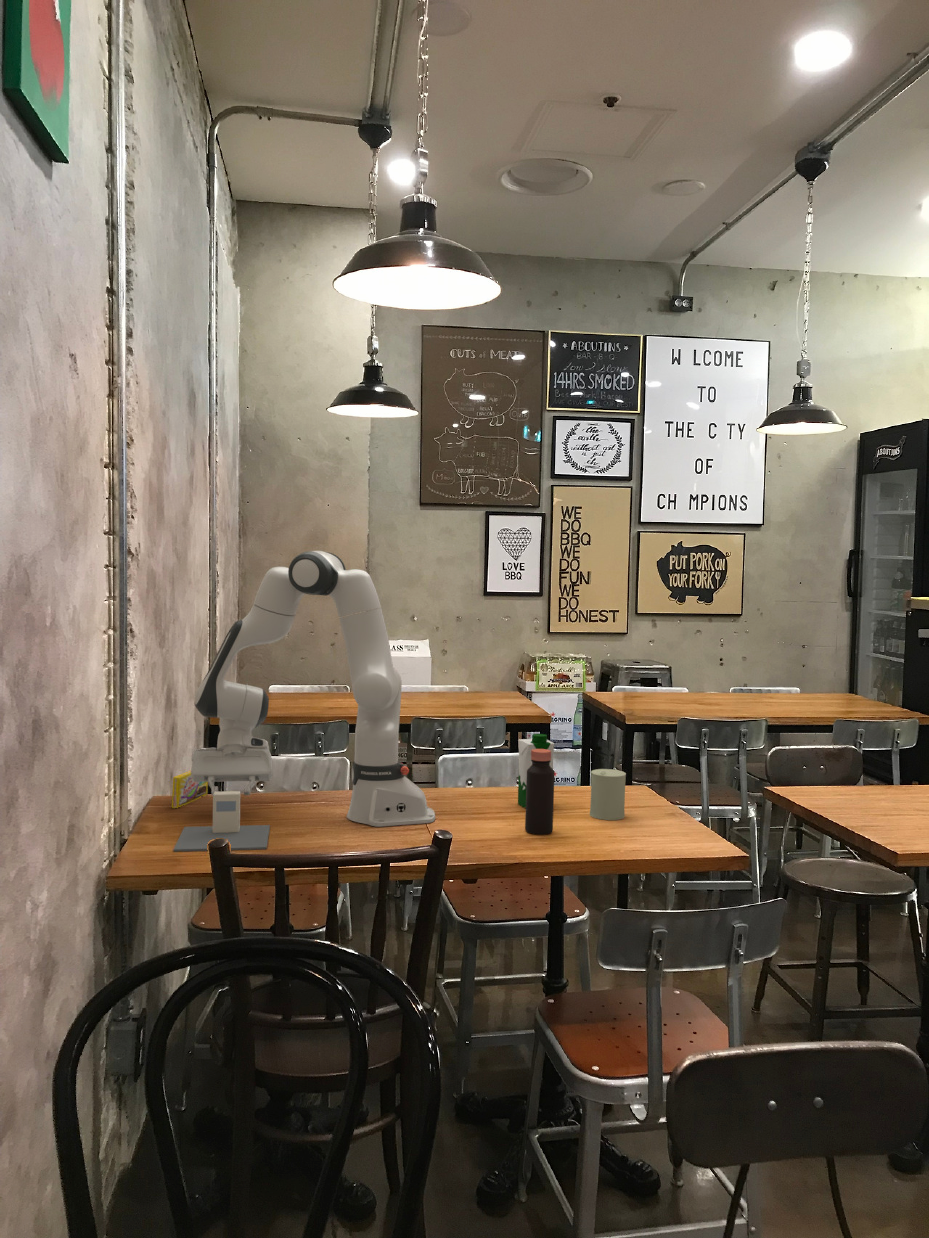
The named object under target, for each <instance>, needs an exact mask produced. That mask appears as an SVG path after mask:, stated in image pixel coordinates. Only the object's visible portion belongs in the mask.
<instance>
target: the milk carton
mask: <svg viewBox="0 0 929 1238" xmlns="http://www.w3.org/2000/svg"><path fill="white" fill-rule="evenodd" d="M531 735H532V736H531V738H523V739H522V738H521V739H520V738H519V739H518V740H517V741H518V778H517V779H518V781H517V782H518V783H517V788H518V789H517V805H519V806H521V807H522V808H523V809H525V810H526V781H527V770H528V768H529V767H530V766H531V765H532V761H531V760H532V759H531V750H533V749H547V750H550V751H551V760H550V761H551V762H550V767H551V768H552V769H553V770H554V767H553V766H554V765H553V764H554V753H555V752H554V751H555V742H553V741H551V740H549V739H548V735H547V734H544V733H533V734H531Z"/></svg>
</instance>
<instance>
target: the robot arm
mask: <svg viewBox="0 0 929 1238" xmlns="http://www.w3.org/2000/svg"><path fill="white" fill-rule="evenodd" d="M305 595H311V596H326V597H327V596H329V597H331V598H332V600H333V602H334V603H335V608H336V610H337V616H338V621H339V625H340V628H341V633H342V636H343V641H344V645H345V650H346V657H347V658H346V659H347V665H348V671H349V678H350V679H349V680H350V683H351V684H350V685H351V689H352V695H353V699H354V701H355V702H356V703H357V714H356V723H355V732H354V761H353V762H352V767H351V782H352V792H351V798H350V799H351V800H350V803H349V804H350V805H349V808H348V811H347V814H346V818H347V819H348V820H349V821H352V822H355V823H359V824H365V825H368V826H372V827H392V826H404V825H405V826H406V825H407V826H408V825H417V824H418V825H419V824H429V823H430V824H431V823H433V822H434V821H435V820H436V813H435V811H434V809H433V808H431V807H429V806H428V804H427V803H428V802H427V798H426V795H425V793H424V791H423V790H422V789H421V787H419V786H418V785H416V784H415V783H414V782H413V781H411V779H409V778H408V777H406V776H407V775H408V774H409V773H410V769H409V768H408V766H406V765H405V764H404V763H403V762H400V761H399V732H400V718H401V717H400V716H401V702H402V686H403V685H402V684H403V683H402V678H401V675H400V673H399V671H398V670H397V669H396V668H395V667H394V666H393V665H394V664H393V659H392V654H391V648H390V647H391V646H390V639H389V634H388V629H387V625H386V622H385V618H384V614H383V610H382V605H381V602H380V599H379V595H378V592H377V589H376V587H375V585H374V582H373V580H372V577H371V575H370V574H369V573H368V572H367V571H365V570H363V569H358V568H354V569H346V565H345V563H344V562H343V560H342V559H341V558H340V557H339V556H337V555H336V554H334V553H332V552H326V551H324V550H323V551H322V550H311V551H310V550H308V551H304V552H301V553H299V554H297V555H296V556H295V557H293V559H292V560H291V562H290V563H289V566H288V567H287V566H275V567H274V566H273V567H271V568H270V569H268V570H267V572H266V573H265V575H264V576H263V578H262V581H261V583H260V585H259V587H258V590H257V592H256V594H255V598H254V601H253V605H252V606H251V609H250V611H249V612H248V613H247V614H246V615H245V617H244V618H242V619H240V620H236V621H235V622H234V623H233V624H232V625H231V627H230V629H229V630H228V632H227V634H226V635H225V637H224V640H223V641H222V643H221V646H220V647H219V648H218V649H219V650H218V651H217V653H216V656H214V658H213V659H214V660H213V661H212V664H211V666H210V667H209V668H208V671H207V673H206V675H205V677H204V678H203V680H202V682H201V683H200V684H199V686H198V688H197V689H196V692H195V696H194V706H195V708H196V709H197V711H198V712H199V714H200V715H201V716H203V717H204V718H214V719H215V718H216V719H217V718H218V719H219V723H218V724H219V725H218V727H219V733H218V736H217V742H216V743H217V744H216V747H199V748H198V749H195V750H194V751H193V752H192V755H191V761H192V765H191V769H190V770H191V778H192V779H193V781H195V782H208V786H209V788H210V789H211V796H212V797H213V794H214V792H219V786H215V782H216V783H217V782H219V783H220V782H221V783H222V782H249V783H248V785H243V786H244V787H243V796H251V790H252V788H253V787H254V786H255V784H256V782H269V781H271V780H272V779H273V776H274V770H273V769H274V768H273V758H272V754H271V751H270V746H269V741H268V740H266V739H264V738H258V737H255V736H253V734H252V731H253V729H256V728H257V727H259V726H260V725H262V723H264V722H265V720H266V719H267V716H268V713H269V704H270V703H269V702H270V699H269V698H270V697H269V695H268V694H267V692H266V690H265V689H263V688H261V687H257V686H255V685H254V686H253V685H249V684H242V683H238V682H235V681H234V682H233V681H229V680H226V679H225V678H226V676H227V674H228V671H229V670H230V668H231V666H232V664H233V661H234V660H235V657H236V655H237V654H239V652H240V651H241V650H243V649H246V648H248V647H252V646H261V645H269V644H273V643H276V642H278V641H279V642H280V640H282V639H284V638H285V637H286V636H287V635H289V633H290V631H291V629H292V627H293V624H294V621H295V618H296V614H297V611H298V608H299V605H300V602H301V600H302V598H303V597H304V596H305Z"/></svg>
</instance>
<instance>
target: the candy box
mask: <svg viewBox="0 0 929 1238" xmlns="http://www.w3.org/2000/svg"><path fill="white" fill-rule="evenodd" d="M208 786H209V785H208V782H195V781H193V779H192V778H191V769H190V770H188V771H186V772H183V773H179V774H178V775H175V776H173V777H172V792H171V807H172V808H171V809H175V808H177V809H179V808H178V807H180V808H182V807H184V806H186V805H188V804H190V803H192V802H194V801H197V800H199V799H202V797H200V796H203V797H205V796H207V795H208ZM183 805H184V806H183ZM181 806H182V807H181Z"/></svg>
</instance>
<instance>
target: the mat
mask: <svg viewBox="0 0 929 1238" xmlns="http://www.w3.org/2000/svg"><path fill="white" fill-rule="evenodd" d="M270 830H271V824H267V825H266V824H264V825H263V824H261V825H260V824H256V825H254V824H253V825H252V824H251V825H249V824H248V825H240V830H239V832H221V833H213V825H212V826H211V825H206V826H205V825H203V826H202V825H201V826H184V827H183V829H182V831H181V834H180V835H179V837H178V838H177V839H178V840H177V841H176V843H175V845H174V847H173V851H172V852H174V853H176V852H179V851H182V852H208V851H207V844H208V842H209V841H210V840H212V839H216V838H224V839H228V841H229V842H230V844H231V850H230V851H247V850H248V851H253V850H256V849H257V850H268V849H267V848H268V843H269V837H270V836H269V835H270Z"/></svg>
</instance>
